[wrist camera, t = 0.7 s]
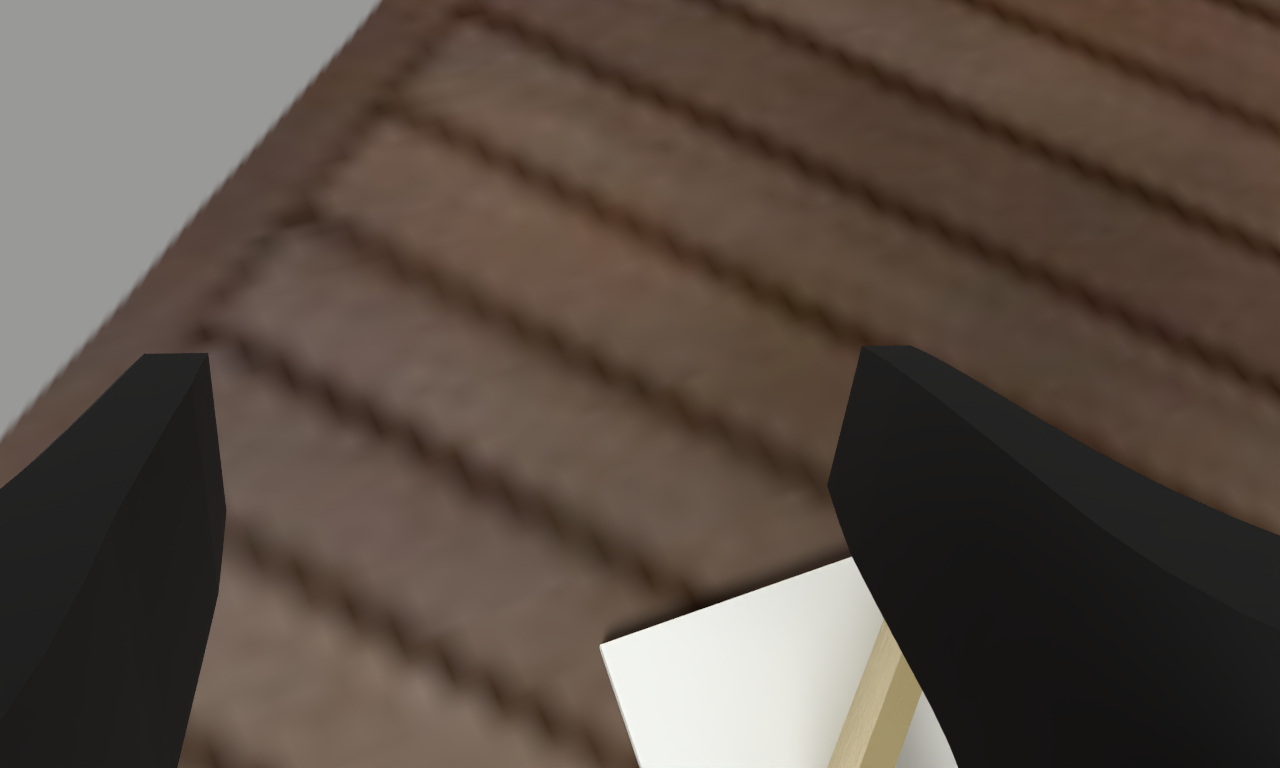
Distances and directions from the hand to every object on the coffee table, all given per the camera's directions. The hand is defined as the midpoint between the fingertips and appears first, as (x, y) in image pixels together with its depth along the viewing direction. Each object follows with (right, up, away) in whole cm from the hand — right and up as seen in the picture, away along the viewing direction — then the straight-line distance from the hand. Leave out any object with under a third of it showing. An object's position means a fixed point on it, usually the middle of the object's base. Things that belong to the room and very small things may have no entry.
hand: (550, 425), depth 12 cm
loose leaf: (+7, -8, +16) cm, 19 cm away
